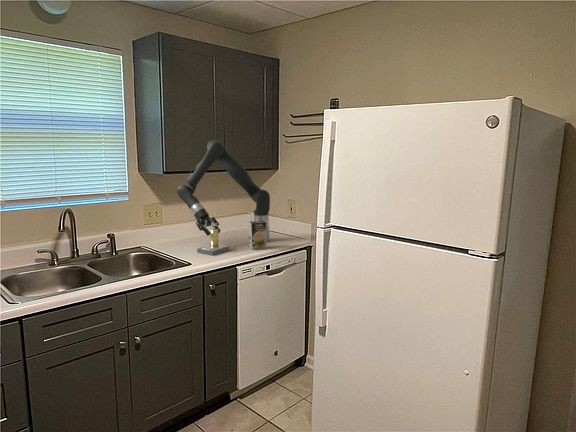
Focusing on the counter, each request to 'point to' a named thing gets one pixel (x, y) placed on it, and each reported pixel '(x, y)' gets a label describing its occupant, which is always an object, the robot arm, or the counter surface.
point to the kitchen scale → (213, 249)
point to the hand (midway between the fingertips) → (214, 233)
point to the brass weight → (213, 237)
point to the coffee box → (257, 235)
